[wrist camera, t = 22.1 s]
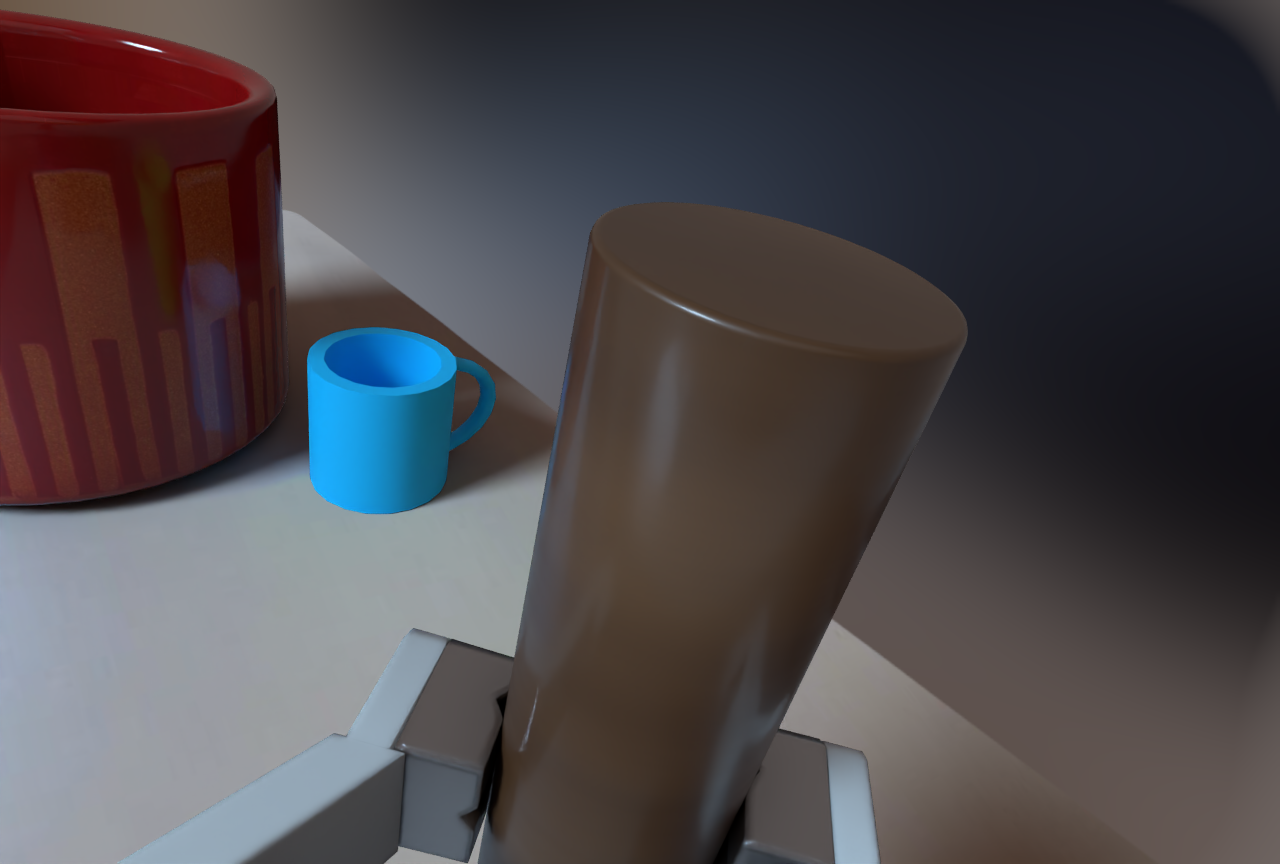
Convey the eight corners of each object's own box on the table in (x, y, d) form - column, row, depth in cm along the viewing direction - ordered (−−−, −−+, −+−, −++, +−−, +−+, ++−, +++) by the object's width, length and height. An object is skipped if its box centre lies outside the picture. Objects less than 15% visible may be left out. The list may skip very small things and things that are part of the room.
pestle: (611, 1295, 12) (1241, 518, 4) (342, 1224, 12) (349, 288, 4) (646, 982, 16) (991, 251, 7) (443, 928, 16) (558, 142, 7)
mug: (344, 530, 42) (345, 408, 38) (288, 453, 47) (283, 337, 42) (520, 475, 50) (537, 369, 46) (458, 414, 54) (468, 313, 50)
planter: (-190, 578, 33) (-438, 86, 22) (-170, 341, 46) (-318, -32, 36) (341, 465, 47) (342, 132, 36) (236, 309, 61) (215, 35, 50)
